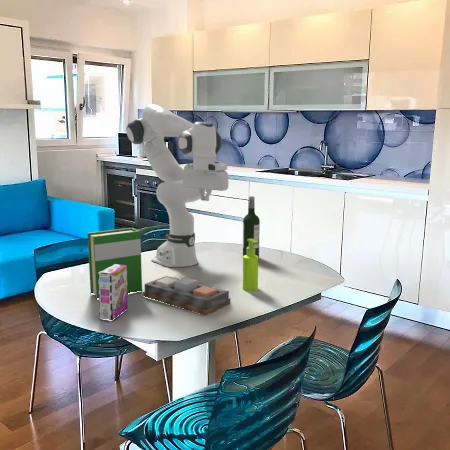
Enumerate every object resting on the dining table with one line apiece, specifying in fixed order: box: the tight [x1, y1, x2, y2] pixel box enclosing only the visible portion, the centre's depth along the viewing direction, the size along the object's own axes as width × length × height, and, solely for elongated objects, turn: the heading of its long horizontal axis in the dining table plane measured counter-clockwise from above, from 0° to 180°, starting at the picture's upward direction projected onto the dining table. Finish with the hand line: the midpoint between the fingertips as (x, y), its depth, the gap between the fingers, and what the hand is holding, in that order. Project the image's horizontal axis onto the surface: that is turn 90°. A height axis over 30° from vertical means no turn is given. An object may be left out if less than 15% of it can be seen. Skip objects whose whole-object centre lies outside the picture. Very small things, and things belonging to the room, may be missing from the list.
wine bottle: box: [242, 195, 261, 260], centre depth 232 cm, size 8×8×30 cm
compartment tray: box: [142, 275, 231, 316], centre depth 178 cm, size 30×14×5 cm, turn 54°
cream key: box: [156, 276, 178, 288], centre depth 182 cm, size 6×6×4 cm
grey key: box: [174, 277, 198, 293], centre depth 177 cm, size 6×6×4 cm
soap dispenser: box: [242, 239, 259, 292], centre depth 189 cm, size 6×7×20 cm
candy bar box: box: [98, 264, 129, 320], centre depth 162 cm, size 11×5×16 cm, turn 163°
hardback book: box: [86, 227, 143, 298], centre depth 183 cm, size 18×7×24 cm, turn 123°
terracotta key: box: [193, 285, 218, 298], centre depth 172 cm, size 6×6×4 cm
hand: (204, 200), depth 190 cm, fingers closed
